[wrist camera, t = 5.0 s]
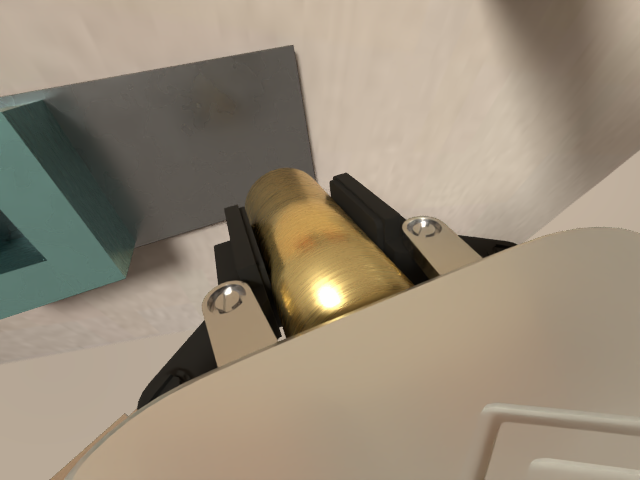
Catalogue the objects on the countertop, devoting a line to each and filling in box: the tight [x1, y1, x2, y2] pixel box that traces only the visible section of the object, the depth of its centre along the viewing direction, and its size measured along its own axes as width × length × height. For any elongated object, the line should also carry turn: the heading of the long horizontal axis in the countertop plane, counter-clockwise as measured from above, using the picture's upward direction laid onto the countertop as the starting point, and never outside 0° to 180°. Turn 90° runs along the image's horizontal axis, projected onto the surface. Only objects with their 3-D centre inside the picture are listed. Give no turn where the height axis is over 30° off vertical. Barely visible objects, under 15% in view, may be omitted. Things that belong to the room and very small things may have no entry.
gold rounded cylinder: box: [245, 168, 415, 338], centre depth 10 cm, size 4×4×8 cm
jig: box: [0, 45, 315, 319], centre depth 20 cm, size 28×12×6 cm, turn 98°
